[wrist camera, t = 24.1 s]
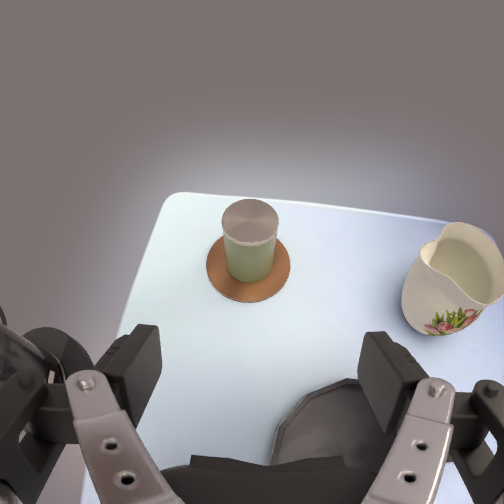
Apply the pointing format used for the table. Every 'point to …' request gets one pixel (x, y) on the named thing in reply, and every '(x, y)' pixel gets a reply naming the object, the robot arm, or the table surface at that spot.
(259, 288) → the coaster
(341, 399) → the pan
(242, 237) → the tin
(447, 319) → the pitcher
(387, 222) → the table surface
